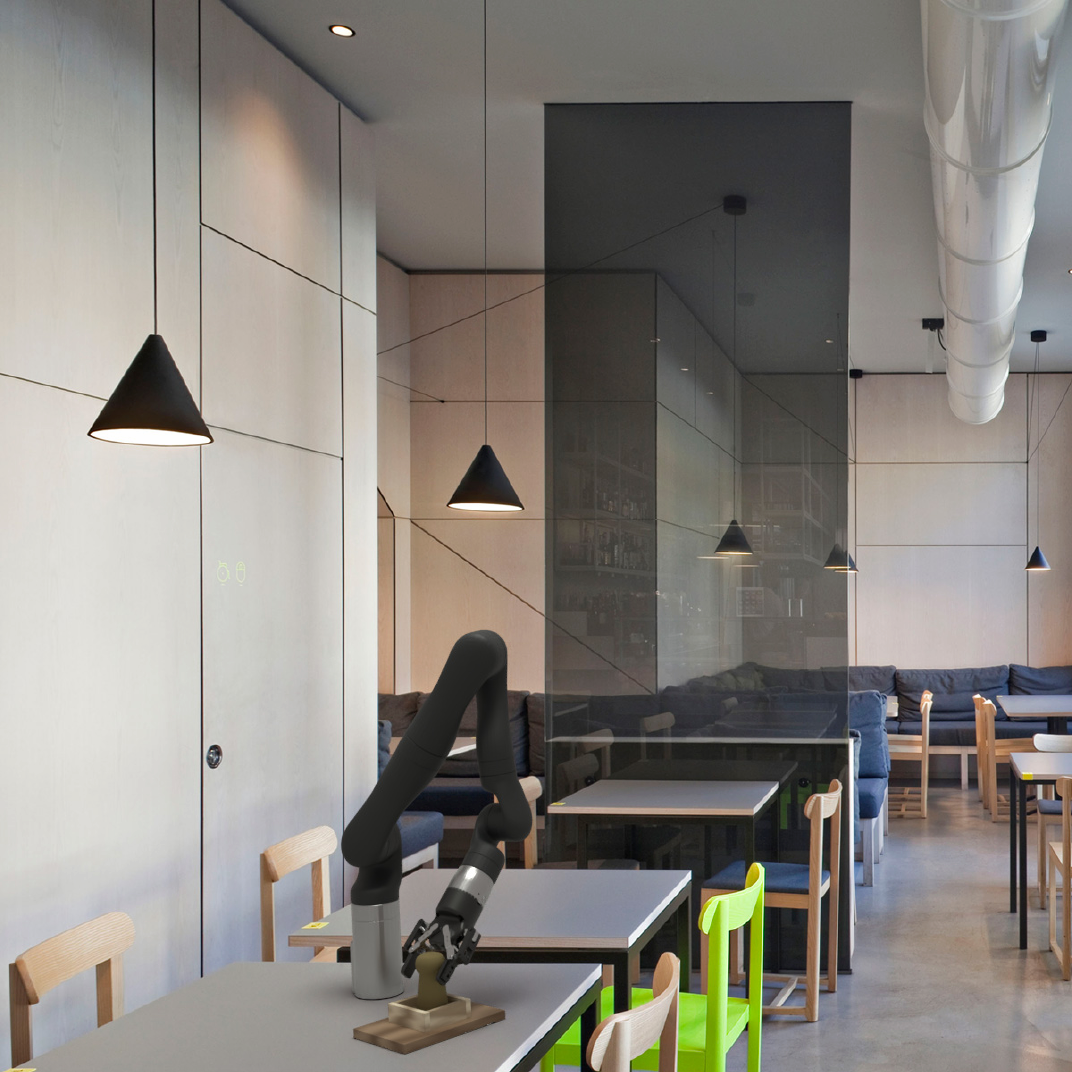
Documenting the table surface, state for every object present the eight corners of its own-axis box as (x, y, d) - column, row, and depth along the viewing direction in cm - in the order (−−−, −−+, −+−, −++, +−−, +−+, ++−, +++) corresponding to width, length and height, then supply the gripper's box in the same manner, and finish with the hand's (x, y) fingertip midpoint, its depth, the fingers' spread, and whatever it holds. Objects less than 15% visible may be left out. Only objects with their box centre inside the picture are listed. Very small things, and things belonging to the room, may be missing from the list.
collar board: (353, 1037, 207) (352, 1010, 207) (452, 1005, 222) (451, 979, 222) (404, 1054, 197) (403, 1025, 197) (505, 1019, 212) (503, 992, 212)
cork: (445, 1024, 206) (442, 957, 207) (411, 1024, 207) (407, 957, 208) (455, 1013, 212) (451, 948, 213) (421, 1013, 213) (418, 948, 214)
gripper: (425, 882, 222) (381, 962, 212) (483, 889, 212) (439, 973, 203) (448, 906, 225) (405, 985, 215) (505, 913, 216) (463, 997, 206)
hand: (422, 979), depth 209 cm, fingers open, 8 cm apart
